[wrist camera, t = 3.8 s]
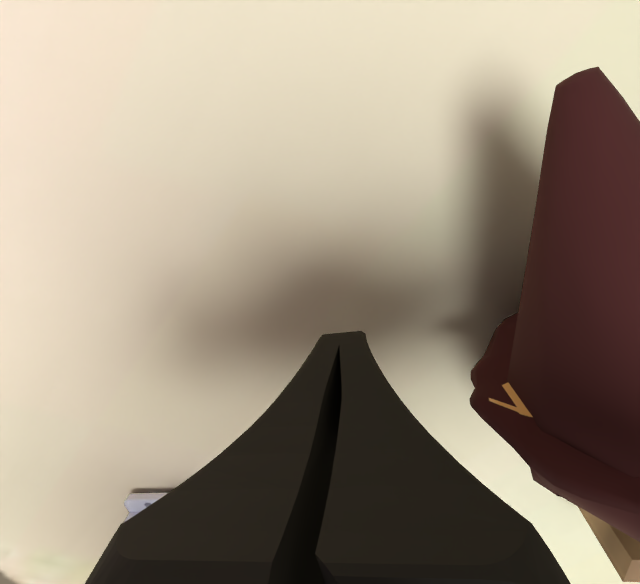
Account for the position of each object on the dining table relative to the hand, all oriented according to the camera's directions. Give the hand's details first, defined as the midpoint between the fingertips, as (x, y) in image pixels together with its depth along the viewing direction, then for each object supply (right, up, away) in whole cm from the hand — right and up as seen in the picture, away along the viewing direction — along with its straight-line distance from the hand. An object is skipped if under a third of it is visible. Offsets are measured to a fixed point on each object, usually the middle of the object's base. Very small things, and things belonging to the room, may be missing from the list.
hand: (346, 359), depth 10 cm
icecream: (+7, +1, +1) cm, 7 cm away
